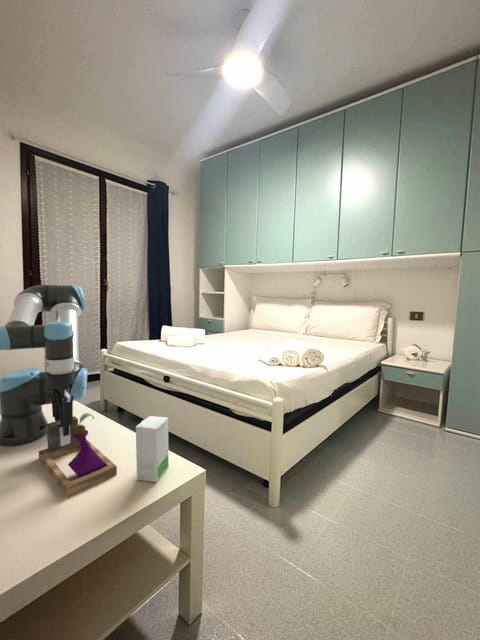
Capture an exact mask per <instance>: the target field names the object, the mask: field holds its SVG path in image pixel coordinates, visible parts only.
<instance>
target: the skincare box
mask: <svg viewBox="0 0 480 640" xmlns="http://www.w3.org/2000/svg"><path fill="white" fill-rule="evenodd" d="M135 445H136V446H135V447H136V448H135V450H136V452H135V453H136V480H137V481H142V482H149V483H158V482H159V480H160V479H161V478H162V477H163V475H164V474H165V472H166V471H167V470H168V469H169V464H170V463H169V461H170V460H169V459H170V457H169V417H165V416H153V415H149V416H147V417H146V418H145V419H143V420H141V422H140V423H139V424H137V425H136V426H135Z"/></svg>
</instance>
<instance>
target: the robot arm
mask: <svg viewBox="0 0 480 640" xmlns="http://www.w3.org/2000/svg"><path fill="white" fill-rule="evenodd" d="M85 302H86V301H85V295H84V291H83V288H82V287H81V286H79V285H73V284H69V285H62V284H61V285H59V284H58V285H57V284H38V285H33V286H30V287H27V288H26V289H24V290H22V291H20V292H19V293H17V295H16V297H15V299H14V300H13V310H12V311H11V314H10V316H9V317H8V319H7V322H6V324H5V325H0V351H12V350H13V351H14V350H27V349H45V362H44V363H43V366H45V367H46V371H41V369H40V368H38V367H29V368H23V369H18V370H14V371H12V372H9V373H6V374H4V375H3V376H2V377H1V378H0V416H1V417H0V418H1V419H0V446H5V447H6V446H7V447H10V446H11V447H12V446H13V447H14V446H18V445H19V446H20V445H24V444H28V443H32V442H35V441H37V440H39V439H41V438H42V437H44V436H46V435H47V424H48V423H49V422H48V420H47V418H46V416H45V414H44V412H43V409H42V408H43V406H44V405H50V404H51V410H52V418H54V422H55V421H59V420H60V422H61V425H58V427H59V428H60V446H64V445H67V444H70V443H71V442H70V425H71V424H73V416H74V413H73V412H74V409H73V407H74V406H73V405H74V401H79V400H81V399H84V398H85V396H86V392H87V385H88V368H87V367H84V364H83V363H82V362H81V361H80V355H79V353H80V351H79V349H80V348H79V317H80V316H81V315H82V312H85V310H86V303H85ZM40 312H41V313H42V312H47V313H48V312H50V313H51V315H52V316H53V317H54V321H49V322H46V323H45V324H39V325H38V324H37V325H35V321H36V320H37V317H38V313H40Z"/></svg>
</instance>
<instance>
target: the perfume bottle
mask: <svg viewBox="0 0 480 640" xmlns="http://www.w3.org/2000/svg"><path fill="white" fill-rule="evenodd" d="M89 417H92V420H94V419H95V417H94V415H93V414H92V413H89V412H84V413H83V414H82V415H81V416H80V418H79V422H78V425H76V426H75V427H73V429H74V432H73V433H72V437H73V438H76V439H77V440H78V441H79V443H80V445H81V449H79V452H78V453H77V454H76V455H75V457H73V459H72V460H70V462H69V463H68V464H67V466H68V467H69V468H70V469H71V470H72V472H73V473H74V474H75V475H76V476H77V477H78V478H80V477H82V476H85V475H87V474H89V473H92V472H94V471H96V470H99V469H101V468H103V467H104V466H105V462H104V461H103V460H102V459H101V458H100V457H99V456H98V455H97V453H96V452H95V451H94V450H93V449H92V448H91V446H90V445H89V443H88V441H89V440H88V439H87V436H88V435H89V430H88V429H86V426H85V425H83V424H81V423H82V422H83V421H84V420H85V419H86V418H89ZM86 439H87V440H88V441H87V440H86Z"/></svg>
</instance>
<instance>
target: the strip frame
mask: <svg viewBox="0 0 480 640" xmlns="http://www.w3.org/2000/svg"><path fill="white" fill-rule="evenodd" d="M58 425H61V422H60V420H59V421H55V420H54V421H51V422H48V424H47V434H46V437H47V438H46V439H47V448H44V449H41V450H38V460H39V461H40V462H41V464H42V465H43V466H44V468H45V469H46V470H47V472H48V473H49V475H50V477H52V479H53V481H55V483H56V484H57V486H58V487H59V488H60V489H61V491H62V492H63V493H64V495H65V497H66V498H69V497H71V496H72V495H75V494H77V493H79V492H81V491H83V490H86V489H87V488H91V487H92V486H94V485H97V484H99V483H101V482H103V481H105V480H107V479H109V478H112V477H114V476H116V475H117V473H118V472H117V471H118V469H117V468H118V467H117V465H116V464H115V463H114V462H113V461H112V460H110V459H109V458H108V457H107V456H106V455H105V454H103V452H101V451H100V450H99V449H98V448H97V447H96V446H95V445H94V444H92V442H90V441H89V440H88V439H87V438H86V440H87V441H88V443H89V445H90V446H91V448H92V449H93V450H94V451H95V452H96V453H97V455H98V456H99V457H100V458H101V459H102V460H103V461H104V462H105V466H104V467H103V468H101V469H99V470H96V471H94V472H92V473H89V474H87V475H85V476H82V477H80V478H79V477H78V478H76V479H74V480H71V481H70V479H69V477H67V476H66V474H65V473H64V472H63V470H61V468H60V467H59V466H58V465H57V463H56V462H55V460H53V459H56V458H60V457H62V456H64V455H67V454H71V453H73V452H77V451H78V450H79V451H80V449H81V445H80V443H79V441H78V440H77V439H76V438H73V437H72V433H73V432H74V429H73V427H75V426H76V425H79V419H78V418H77V417H76V416H75V415H73V424H71V425H70V442H71V443H70V444H67V445H64V446H60V428H59V427H58Z"/></svg>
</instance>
